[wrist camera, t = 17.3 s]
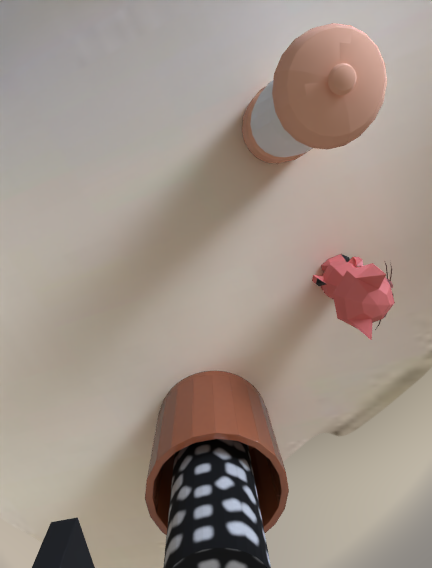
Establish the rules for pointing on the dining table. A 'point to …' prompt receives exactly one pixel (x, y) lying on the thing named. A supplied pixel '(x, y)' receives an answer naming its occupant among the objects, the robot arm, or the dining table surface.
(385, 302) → the cat figurine
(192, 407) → the terracotta coffee mug
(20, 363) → the dining table surface
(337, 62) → the pepper shaker
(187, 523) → the white-spotted black cylinder
